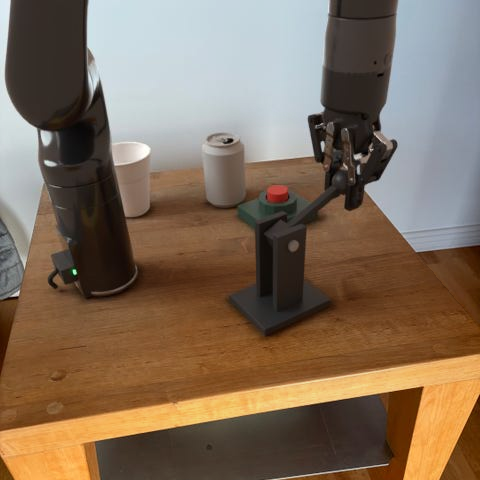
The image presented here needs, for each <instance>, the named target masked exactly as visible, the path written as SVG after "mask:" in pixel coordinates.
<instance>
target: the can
mask: <svg viewBox="0 0 480 480" xmlns="http://www.w3.org/2000/svg"><path fill="white" fill-rule="evenodd" d="M201 154H202V155H201V156H202V166H203V167H202V168H203V177H204V188H205V199H206V200H207V202H209V203H210V204H211V205H212V206H214V207H217V208H223V209H225V208H228V209H229V208H233V207H236V206H238V205H240V204H242V202H244V201H245V200H244V199H246V197H247V194H246V193H247V190H246V189H247V188H246V159H245V144H244V143H243V141H241V135H239V134H237V133H236V132H231V131H218V132H213V133H211V134H209V135H207V136H206V137H205V138H204V143H203V144H202V147H201Z"/></svg>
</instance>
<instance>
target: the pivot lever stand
mask: <svg viewBox="0 0 480 480" xmlns="http://www.w3.org/2000/svg"><path fill="white" fill-rule="evenodd" d="M279 220H282V221H283V222H285V223H286V224H287V213H285V212H284V211H282V212H279V213H276V214H273V215H270V216H268V217H265V218H262V219H259V220H256V221H255V229H254V237H255V238H254V240H255V241H254V244H255V245H254V246H255V283H254V284H252V285H249V286H247V287H245V288H242V289H239V290H238V291H235V292H232V293H230V294H229V295H228V301H229V303H231V304H232V306H234V307H235V308H236V309H237V310H238V312H239V313H241V314H242V316H244V318H246V320H248V321H249V322H250V323H251V324H252V325H253V326H254V328H255V329H256V330H258V331H259V332H260V333H261V334H262V335H263V336H264V337H267V336H269V335H272V334H273V333H275V332H278V331H280V330H282V329H285V328H286V327H288V326H291V325H294V324H295V323H297V322H299V321H301V320H304V319H305V318H307V317H310V316H311V315H314V314H316V313H318V312H320V311H322V310H325V309H327V308H329V307H331V299H330V298H329V297H328V296H327V295H325V294H324V293H323V292H322V291H321V290H319V289H318V288H317V287H315V286H314V285H313V284H311V282H309V281H307V280H306V279H305V264H306V247H307V229H308V227H307V226H306V225H304V224H300V225H297V226H294V227H292V228H289V229H286V230H284V231H281V232H278V233H276V234H273V247H271V246H270V244H269V242H268V240H267V238H266V236H265V234H264V233H265V232H266V231H267V230H269V229H270V228H271V227H272V226H273V225H274V224H276V223H277V222H278V221H279Z"/></svg>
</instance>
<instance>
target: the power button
mask: <svg viewBox="0 0 480 480" xmlns="http://www.w3.org/2000/svg"><path fill="white" fill-rule="evenodd" d="M288 189H289V188H288V187H287V186H285V185H280V184H275V185H271V186H269V187H268V188H267V200H268V201H269V202H274V203H282V202H285V201H287V200H288Z"/></svg>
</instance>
